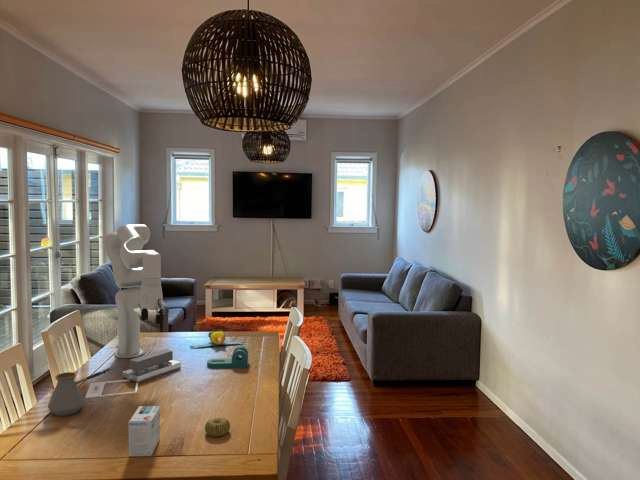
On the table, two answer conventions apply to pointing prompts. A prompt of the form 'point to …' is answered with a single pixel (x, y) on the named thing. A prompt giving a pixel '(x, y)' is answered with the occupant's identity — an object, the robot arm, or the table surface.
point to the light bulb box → (144, 431)
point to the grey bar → (151, 360)
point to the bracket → (231, 360)
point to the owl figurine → (216, 339)
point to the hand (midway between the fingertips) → (152, 321)
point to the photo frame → (98, 387)
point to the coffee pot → (68, 394)
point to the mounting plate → (151, 372)
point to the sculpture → (217, 427)
